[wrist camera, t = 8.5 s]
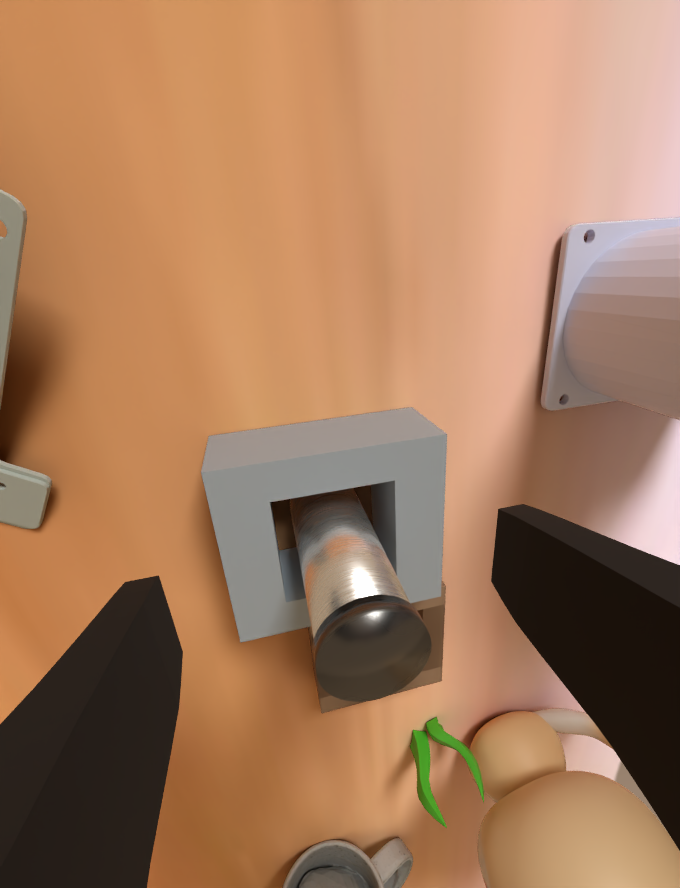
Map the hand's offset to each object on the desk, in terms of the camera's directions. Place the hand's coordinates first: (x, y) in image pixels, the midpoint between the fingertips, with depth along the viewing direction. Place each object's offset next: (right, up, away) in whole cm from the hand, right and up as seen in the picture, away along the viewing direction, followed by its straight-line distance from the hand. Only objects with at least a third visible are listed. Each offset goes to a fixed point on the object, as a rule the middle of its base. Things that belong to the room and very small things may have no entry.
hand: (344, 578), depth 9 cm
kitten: (+11, -18, +22) cm, 30 cm away
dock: (-1, 0, +11) cm, 11 cm away
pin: (-1, 0, +11) cm, 11 cm away
